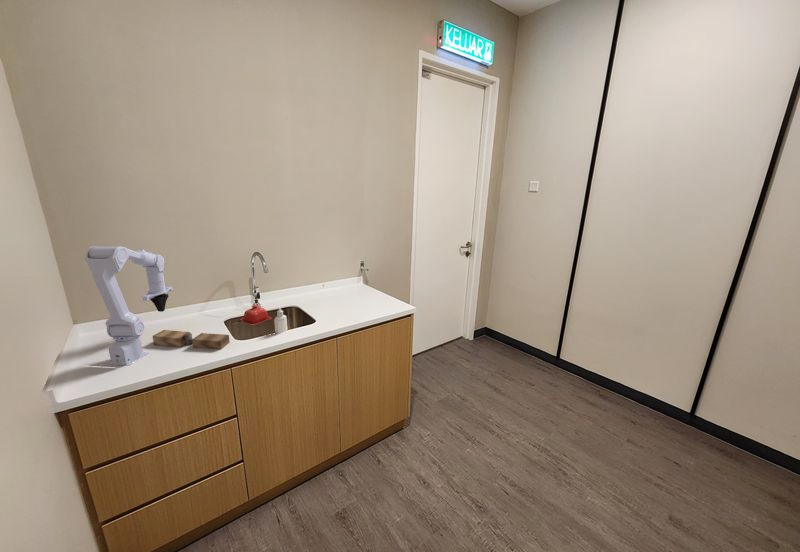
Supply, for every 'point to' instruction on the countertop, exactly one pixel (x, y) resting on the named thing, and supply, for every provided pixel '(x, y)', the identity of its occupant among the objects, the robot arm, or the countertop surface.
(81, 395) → the countertop surface
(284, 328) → the eye dropper bottle
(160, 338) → the swing leaf
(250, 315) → the butter dish
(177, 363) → the countertop surface
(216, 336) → the oblong wooden brick
